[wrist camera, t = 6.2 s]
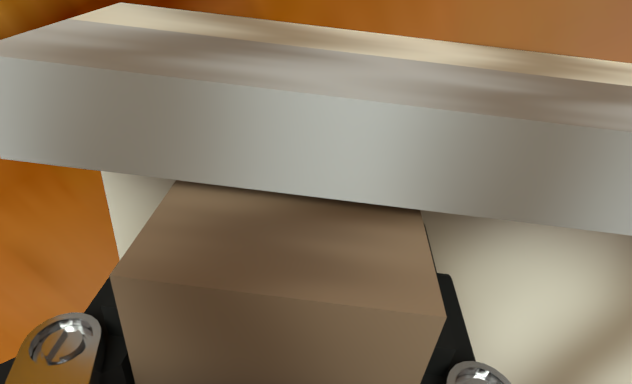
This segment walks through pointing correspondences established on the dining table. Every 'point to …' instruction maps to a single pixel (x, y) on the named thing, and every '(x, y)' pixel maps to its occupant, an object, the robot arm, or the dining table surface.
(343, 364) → the block
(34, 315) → the dining table surface
